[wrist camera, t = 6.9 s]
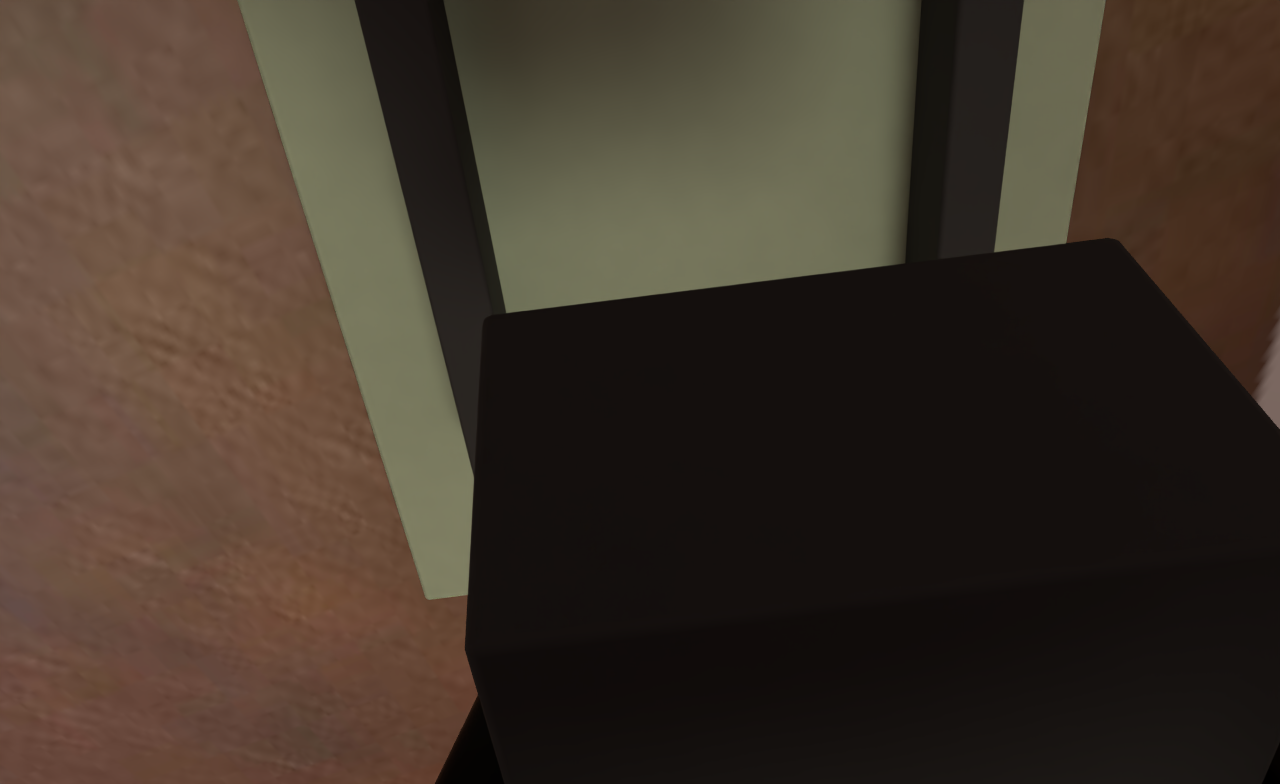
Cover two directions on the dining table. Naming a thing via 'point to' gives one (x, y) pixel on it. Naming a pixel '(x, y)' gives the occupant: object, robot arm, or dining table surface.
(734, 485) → the black rectangular block
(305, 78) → the base pad
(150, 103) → the dining table surface
